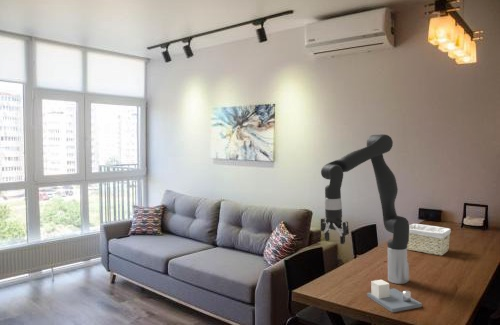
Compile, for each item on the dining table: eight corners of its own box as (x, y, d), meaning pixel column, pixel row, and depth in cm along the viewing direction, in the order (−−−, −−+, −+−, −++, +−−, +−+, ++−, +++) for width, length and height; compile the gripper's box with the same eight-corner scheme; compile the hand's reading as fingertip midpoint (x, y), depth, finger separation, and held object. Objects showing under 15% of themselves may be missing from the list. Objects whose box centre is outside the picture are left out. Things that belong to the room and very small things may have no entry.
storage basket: (451, 251, 241) (451, 227, 240) (443, 257, 230) (443, 232, 229) (413, 244, 258) (412, 222, 257) (403, 250, 246) (403, 227, 245)
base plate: (394, 291, 182) (394, 288, 182) (421, 306, 165) (421, 303, 165) (366, 296, 178) (366, 293, 177) (392, 312, 160) (392, 309, 160)
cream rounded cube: (381, 292, 178) (381, 279, 177) (389, 296, 172) (389, 283, 172) (371, 293, 176) (371, 281, 176) (378, 298, 171) (378, 285, 170)
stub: (407, 298, 170) (407, 289, 170) (412, 301, 167) (412, 292, 166) (401, 299, 169) (401, 291, 169) (406, 302, 166) (406, 293, 166)
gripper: (351, 208, 174) (352, 243, 175) (326, 204, 185) (327, 238, 186) (341, 210, 169) (342, 246, 170) (316, 207, 180) (317, 241, 181)
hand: (334, 242), depth 178 cm, fingers open, 8 cm apart
